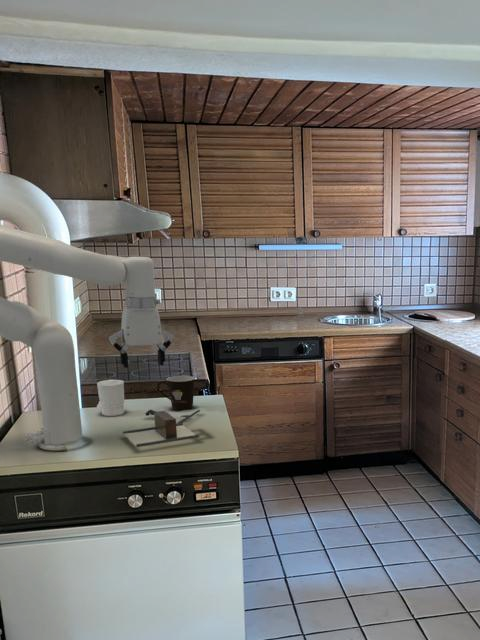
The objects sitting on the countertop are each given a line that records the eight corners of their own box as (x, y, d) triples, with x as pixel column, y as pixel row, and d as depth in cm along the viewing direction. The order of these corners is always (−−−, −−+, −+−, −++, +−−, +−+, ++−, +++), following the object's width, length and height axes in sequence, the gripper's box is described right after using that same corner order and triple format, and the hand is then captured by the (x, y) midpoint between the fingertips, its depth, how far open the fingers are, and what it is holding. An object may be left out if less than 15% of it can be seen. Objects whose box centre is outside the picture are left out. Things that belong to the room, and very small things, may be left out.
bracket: (157, 412, 222) (157, 403, 222) (201, 415, 220) (201, 406, 219) (135, 425, 209) (134, 416, 208) (182, 428, 206) (181, 419, 205)
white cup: (113, 408, 226) (110, 378, 223) (131, 412, 222) (129, 381, 220) (94, 414, 219) (91, 383, 216) (113, 418, 215) (110, 386, 213)
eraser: (166, 439, 190) (164, 420, 188) (155, 430, 198) (153, 412, 197) (177, 438, 192) (175, 419, 190) (165, 429, 200) (164, 410, 198)
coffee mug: (201, 407, 228) (200, 377, 225) (182, 413, 221) (180, 382, 218) (176, 402, 234) (174, 373, 231) (156, 408, 227) (154, 378, 224)
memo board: (137, 452, 184) (136, 444, 184) (123, 438, 196) (122, 431, 195) (199, 442, 193) (199, 435, 193) (182, 429, 205) (182, 422, 204)
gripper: (168, 301, 196) (170, 361, 201) (104, 302, 188) (107, 365, 192) (176, 304, 190) (178, 366, 194) (110, 305, 181) (113, 370, 186)
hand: (143, 365), depth 193 cm, fingers open, 9 cm apart
